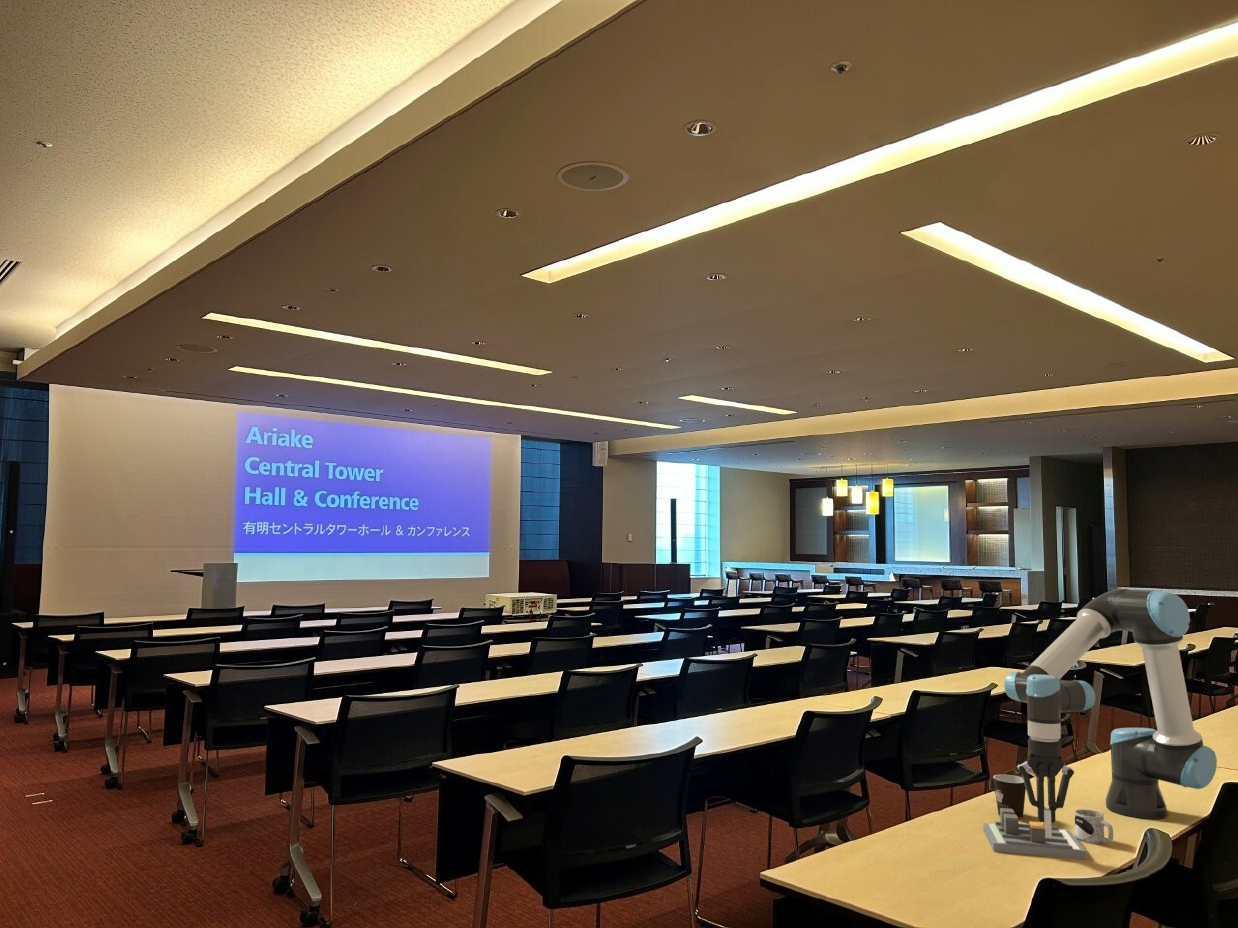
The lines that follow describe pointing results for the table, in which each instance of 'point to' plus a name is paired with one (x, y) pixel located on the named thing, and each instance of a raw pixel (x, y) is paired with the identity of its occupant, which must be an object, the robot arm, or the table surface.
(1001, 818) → the block
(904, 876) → the table surface
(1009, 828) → the block
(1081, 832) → the mug
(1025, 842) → the panel
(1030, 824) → the block
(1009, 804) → the coffee mug
